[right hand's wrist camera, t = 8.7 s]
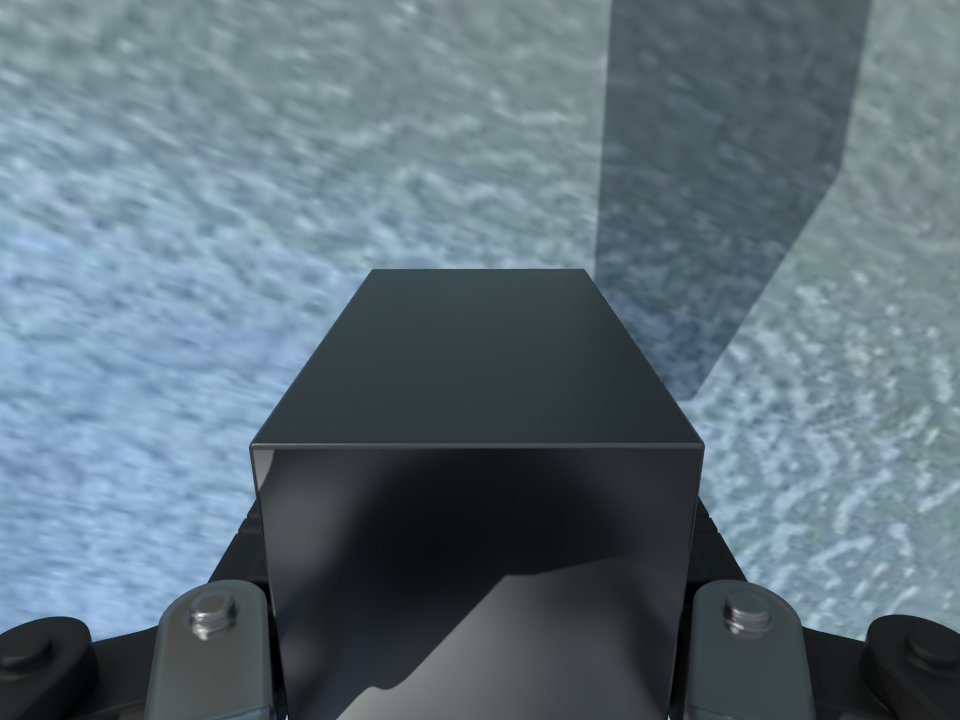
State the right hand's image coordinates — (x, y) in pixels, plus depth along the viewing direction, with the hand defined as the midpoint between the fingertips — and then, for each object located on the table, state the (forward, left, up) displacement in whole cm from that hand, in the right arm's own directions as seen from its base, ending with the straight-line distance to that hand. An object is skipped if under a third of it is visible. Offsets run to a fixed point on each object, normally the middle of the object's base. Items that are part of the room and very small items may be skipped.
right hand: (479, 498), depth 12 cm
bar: (-2, +8, -4) cm, 9 cm away
